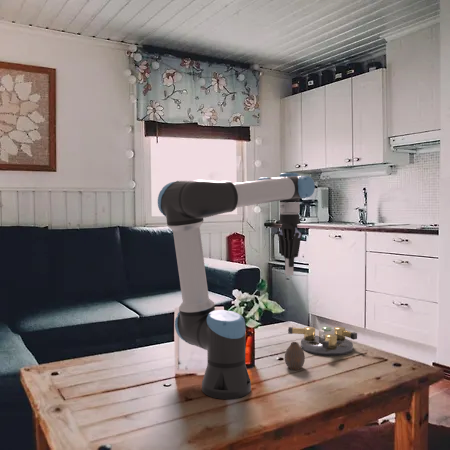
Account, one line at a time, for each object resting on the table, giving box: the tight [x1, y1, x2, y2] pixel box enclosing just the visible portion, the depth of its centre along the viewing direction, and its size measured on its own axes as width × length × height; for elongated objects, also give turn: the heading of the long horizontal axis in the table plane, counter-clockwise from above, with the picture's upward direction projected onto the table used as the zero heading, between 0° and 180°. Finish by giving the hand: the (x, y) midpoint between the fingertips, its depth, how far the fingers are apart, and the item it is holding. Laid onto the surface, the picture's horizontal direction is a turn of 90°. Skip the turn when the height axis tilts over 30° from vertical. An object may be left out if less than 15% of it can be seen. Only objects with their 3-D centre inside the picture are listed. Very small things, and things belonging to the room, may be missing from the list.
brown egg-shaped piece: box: [284, 341, 306, 371], centre depth 164 cm, size 7×7×9 cm
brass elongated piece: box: [333, 326, 358, 341], centre depth 187 cm, size 11×4×4 cm, turn 31°
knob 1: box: [287, 326, 316, 341], centre depth 190 cm, size 11×4×4 cm, turn 76°
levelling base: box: [300, 326, 354, 357], centre depth 186 cm, size 20×20×8 cm
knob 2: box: [323, 334, 337, 349], centre depth 176 cm, size 11×4×4 cm, turn 153°
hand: (289, 275), depth 181 cm, fingers closed
